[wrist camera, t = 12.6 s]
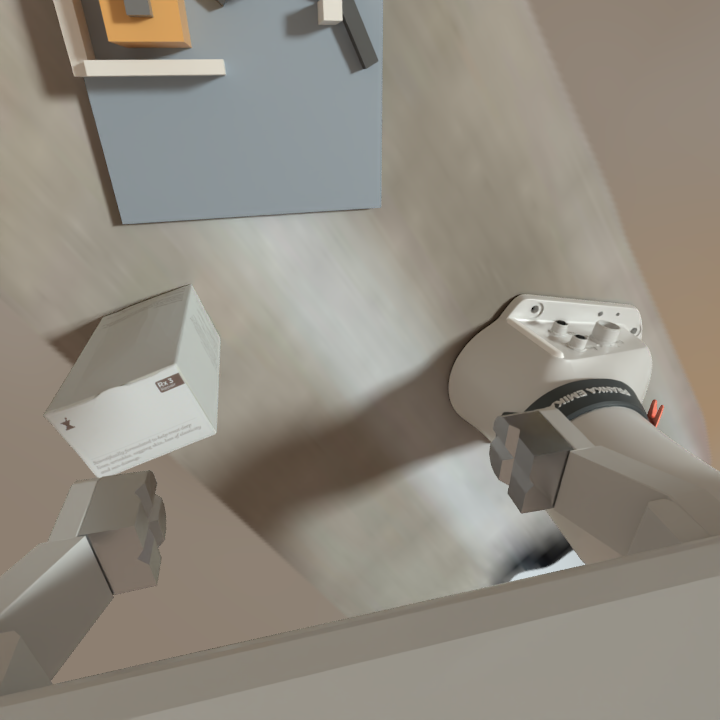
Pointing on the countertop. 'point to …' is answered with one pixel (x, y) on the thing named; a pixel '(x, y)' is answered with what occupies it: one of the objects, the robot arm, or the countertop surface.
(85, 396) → the skincare box
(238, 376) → the countertop surface
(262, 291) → the countertop surface
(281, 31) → the board
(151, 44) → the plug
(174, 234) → the countertop surface
